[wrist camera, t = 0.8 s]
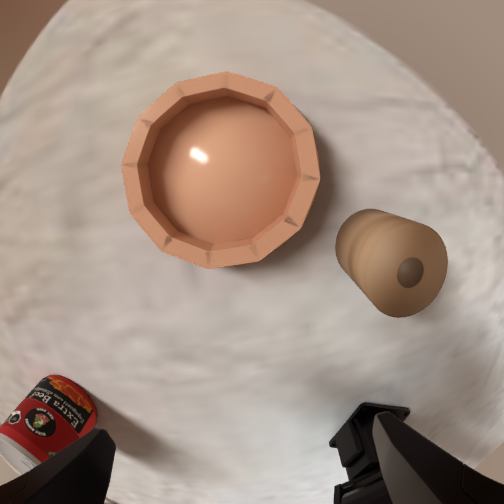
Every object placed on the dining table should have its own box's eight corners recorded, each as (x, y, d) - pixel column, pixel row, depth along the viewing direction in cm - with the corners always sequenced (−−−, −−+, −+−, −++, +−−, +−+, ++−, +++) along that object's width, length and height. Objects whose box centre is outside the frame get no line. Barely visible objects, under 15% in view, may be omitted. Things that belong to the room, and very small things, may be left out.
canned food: (104, 399, 23) (57, 478, 12) (95, 433, 25) (60, 500, 14) (44, 358, 22) (-15, 422, 12) (42, 399, 24) (-1, 456, 13)
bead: (410, 225, 18) (460, 245, 12) (382, 288, 20) (421, 327, 14) (352, 197, 18) (392, 206, 12) (323, 265, 19) (349, 302, 13)
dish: (342, 119, 17) (355, 111, 14) (275, 286, 20) (278, 302, 17) (171, 63, 16) (160, 49, 13) (114, 226, 19) (96, 233, 16)
